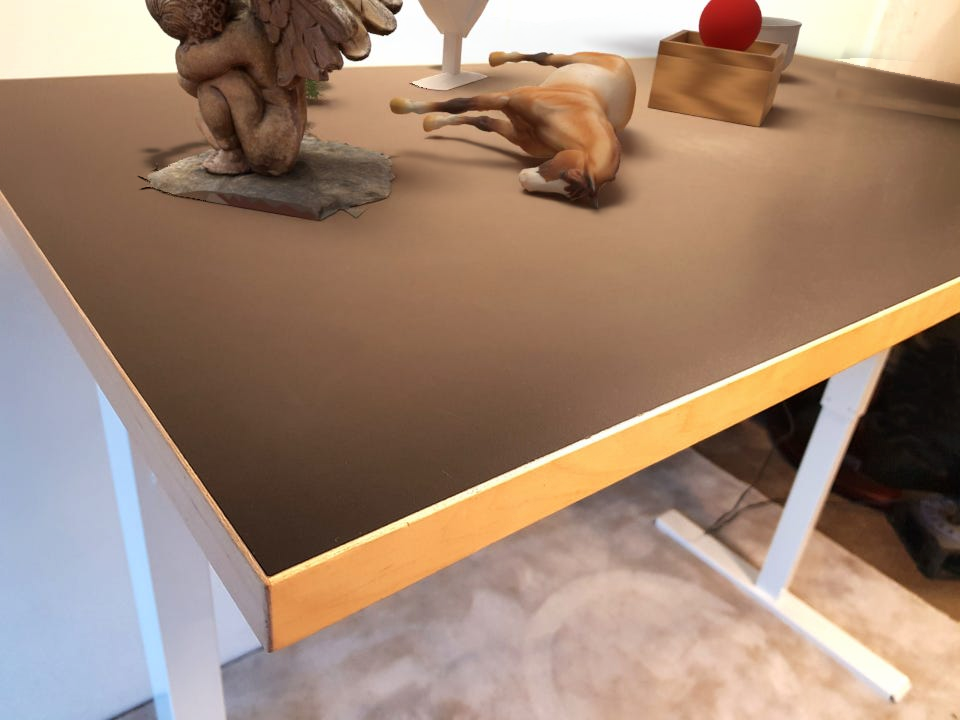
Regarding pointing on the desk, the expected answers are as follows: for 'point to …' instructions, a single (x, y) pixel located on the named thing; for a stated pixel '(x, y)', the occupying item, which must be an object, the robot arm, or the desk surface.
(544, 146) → the horse figurine
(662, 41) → the wooden box
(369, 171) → the cherub figurine
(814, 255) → the desk surface
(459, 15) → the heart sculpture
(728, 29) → the christmas ornament
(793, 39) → the teacup
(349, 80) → the desk surface
